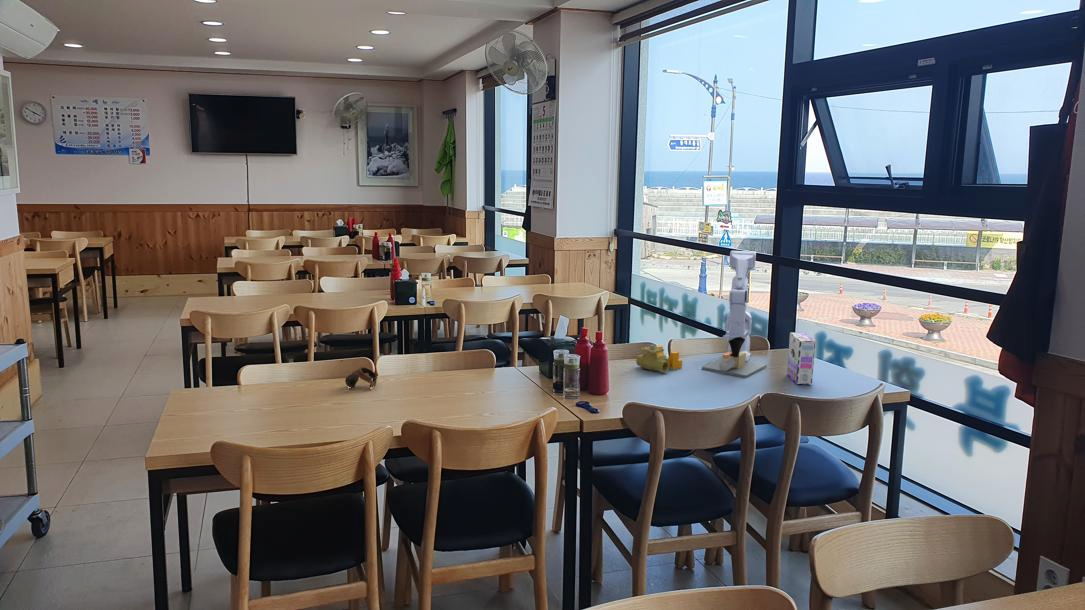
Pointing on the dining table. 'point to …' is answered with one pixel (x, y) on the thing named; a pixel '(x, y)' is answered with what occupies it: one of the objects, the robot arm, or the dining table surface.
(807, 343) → the candy box
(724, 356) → the valve lever
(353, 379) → the brown arched figurine
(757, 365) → the valve base
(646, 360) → the ball valve
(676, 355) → the pipe clamp
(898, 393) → the dining table surface
